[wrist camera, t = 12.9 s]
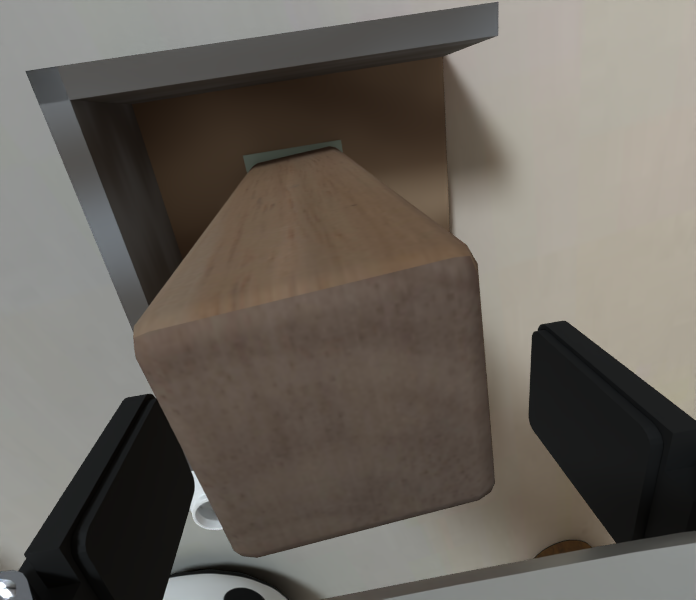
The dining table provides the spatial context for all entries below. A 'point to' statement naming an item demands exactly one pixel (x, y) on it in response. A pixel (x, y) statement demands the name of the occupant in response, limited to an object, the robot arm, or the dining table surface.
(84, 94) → the tray
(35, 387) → the dining table surface
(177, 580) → the milk container
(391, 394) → the wooden block
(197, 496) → the lidless jar
